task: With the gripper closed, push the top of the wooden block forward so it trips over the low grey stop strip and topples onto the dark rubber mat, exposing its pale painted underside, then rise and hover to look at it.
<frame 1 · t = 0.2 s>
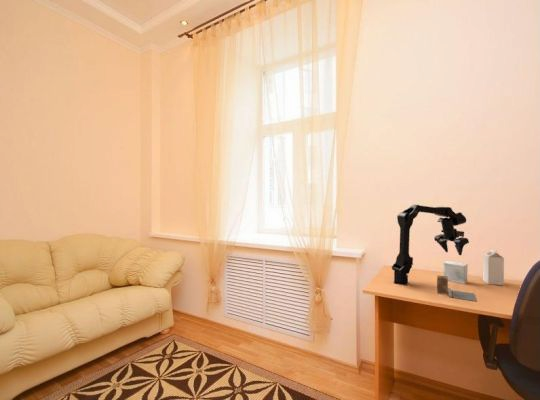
hand: (453, 253, 162), 15 cm above the table, tool pointing down, fingers open, 9 cm apart
skincare box: (455, 281, 160), on the table
stop strip: (449, 293, 139), on the table
milk carton: (493, 283, 156), on the table
rubber mat: (463, 295, 137), on the table
wooden block: (442, 292, 141), on the table
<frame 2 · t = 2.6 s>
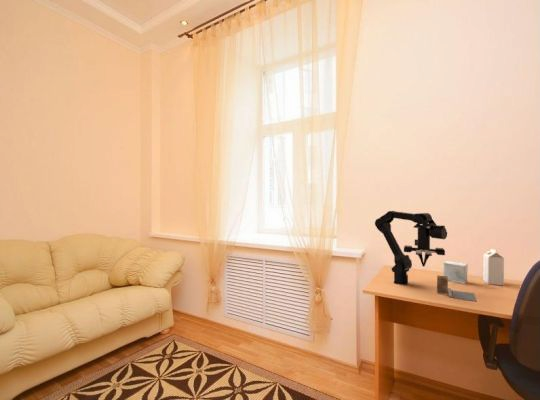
hand: (423, 266, 146), 12 cm above the table, tool pointing down, fingers closed
nothing on the table moved.
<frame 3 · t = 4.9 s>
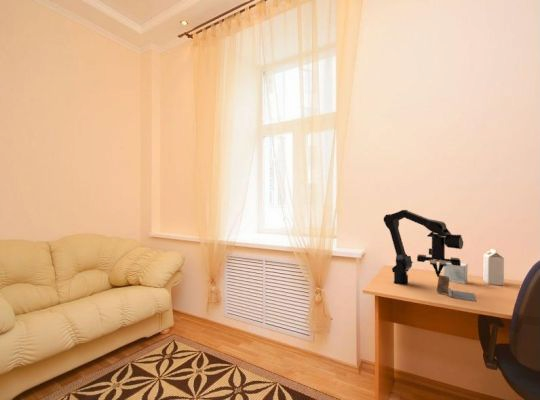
hand: (437, 276, 142), 8 cm above the table, tool pointing down, fingers closed
wooden block: (442, 292, 141), on the table, touching gripper
everything else where it was.
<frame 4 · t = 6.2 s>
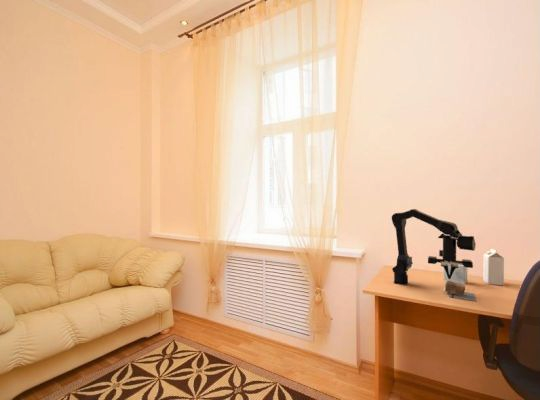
hand: (449, 278, 139), 8 cm above the table, tool pointing down, fingers closed
wooden block: (445, 285, 140), point 4 cm above the table, tilted 99°, touching rubber mat, stop strip
everything else where it was.
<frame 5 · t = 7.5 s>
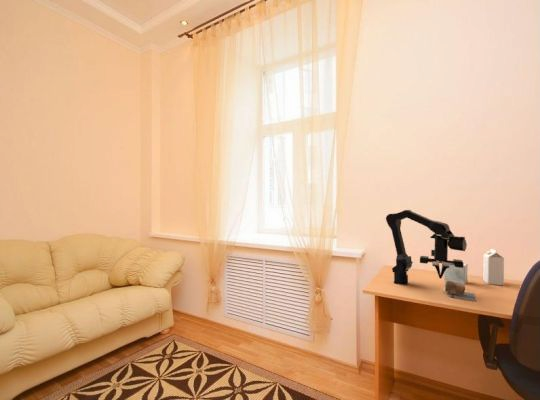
hand: (440, 278, 142), 7 cm above the table, tool pointing down, fingers closed
nothing on the table moved.
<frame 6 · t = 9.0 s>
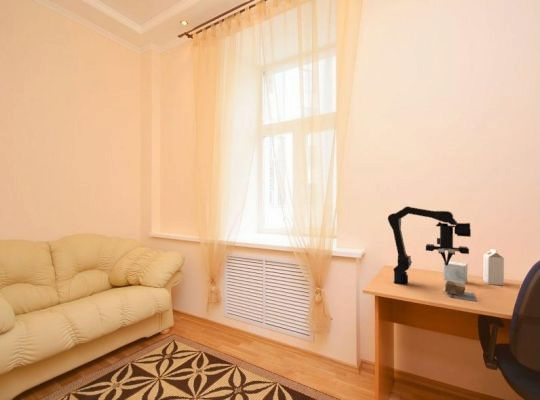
hand: (446, 265, 144), 13 cm above the table, tool pointing down, fingers closed
nothing on the table moved.
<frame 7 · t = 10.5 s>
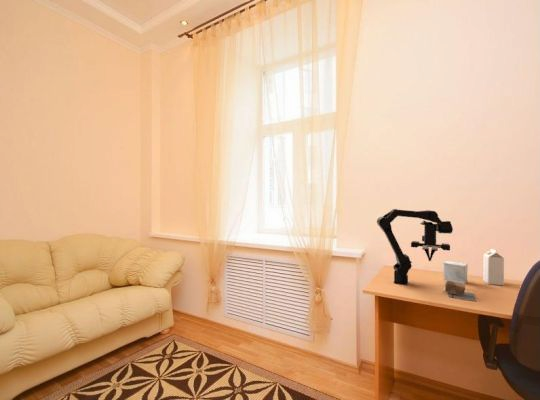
hand: (429, 260, 155), 13 cm above the table, tool pointing down, fingers closed
nothing on the table moved.
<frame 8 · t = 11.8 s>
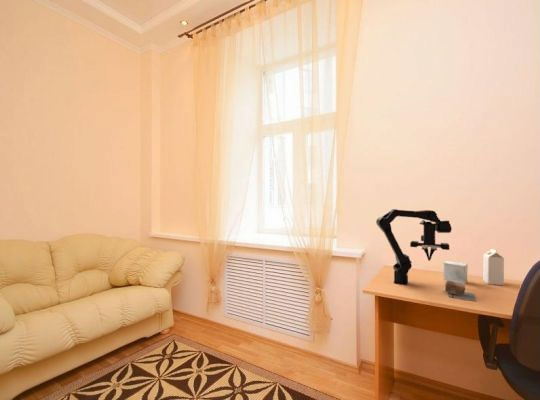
hand: (429, 260, 155), 13 cm above the table, tool pointing down, fingers closed
nothing on the table moved.
at the end: wooden block tilted 99°; wooden block inside the target area (6.8 cm from its centre), point 3.7 cm above the table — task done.
